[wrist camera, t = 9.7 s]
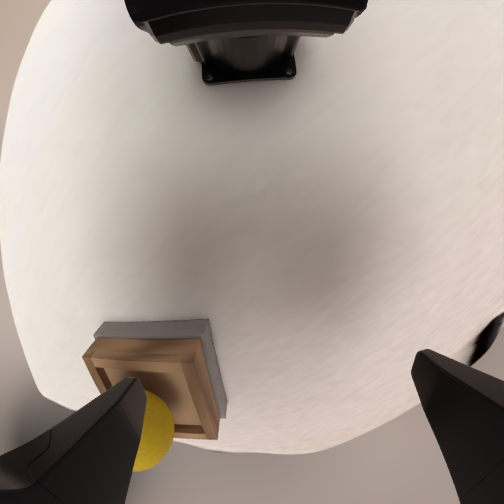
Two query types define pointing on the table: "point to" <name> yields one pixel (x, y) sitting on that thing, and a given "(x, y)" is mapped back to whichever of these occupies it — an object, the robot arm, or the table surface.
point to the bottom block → (174, 331)
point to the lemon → (154, 433)
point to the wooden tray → (161, 377)
